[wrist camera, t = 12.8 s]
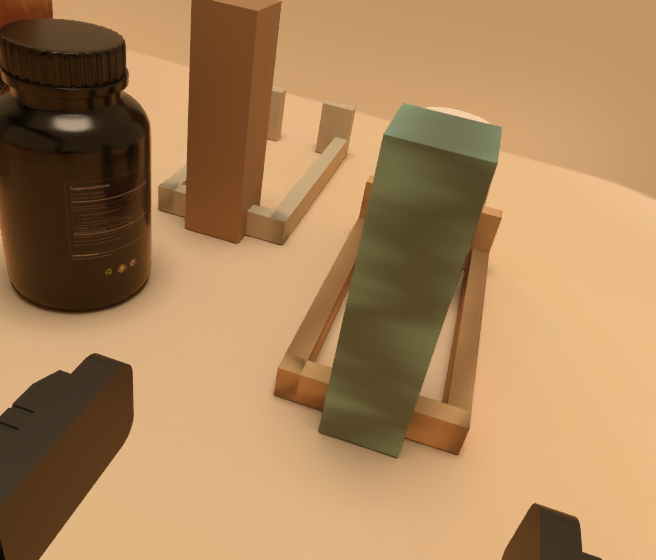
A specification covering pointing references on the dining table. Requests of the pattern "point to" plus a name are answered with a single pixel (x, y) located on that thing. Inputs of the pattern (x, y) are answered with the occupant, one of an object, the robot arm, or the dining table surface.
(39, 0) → the butternut squash
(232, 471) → the dining table surface
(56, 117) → the supplement bottle
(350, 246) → the tall sage green pillar
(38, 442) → the robot arm
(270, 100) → the lane broken
